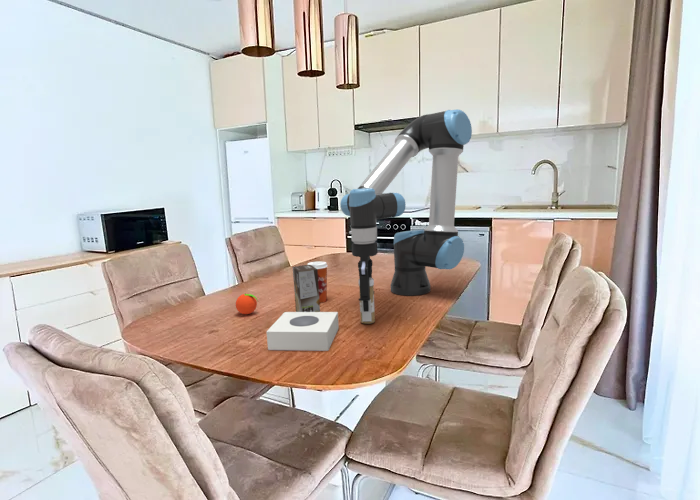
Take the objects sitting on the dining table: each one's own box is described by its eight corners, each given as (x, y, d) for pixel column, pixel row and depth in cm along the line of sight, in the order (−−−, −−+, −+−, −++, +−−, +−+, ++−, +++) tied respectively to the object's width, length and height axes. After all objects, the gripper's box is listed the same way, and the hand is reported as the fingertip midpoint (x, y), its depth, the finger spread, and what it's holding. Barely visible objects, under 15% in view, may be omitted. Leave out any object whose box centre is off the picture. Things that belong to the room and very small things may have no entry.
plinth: (338, 328, 120) (337, 311, 119) (328, 350, 104) (327, 331, 103) (286, 328, 122) (284, 311, 121) (268, 349, 106) (266, 330, 106)
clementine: (264, 311, 139) (262, 291, 138) (254, 317, 133) (252, 296, 132) (243, 310, 142) (241, 290, 140) (232, 316, 135) (230, 296, 134)
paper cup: (324, 304, 144) (322, 265, 141) (305, 303, 146) (302, 265, 144) (332, 298, 151) (330, 261, 149) (313, 297, 154) (311, 260, 151)
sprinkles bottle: (360, 324, 121) (358, 280, 119) (360, 319, 126) (358, 277, 123) (376, 324, 121) (374, 280, 119) (375, 318, 126) (373, 276, 123)
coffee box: (321, 318, 129) (318, 269, 126) (301, 321, 127) (298, 271, 124) (313, 310, 137) (310, 264, 135) (295, 313, 135) (291, 266, 133)
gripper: (355, 237, 128) (358, 309, 132) (347, 247, 111) (351, 328, 115) (379, 237, 127) (382, 308, 131) (374, 246, 110) (378, 328, 114)
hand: (367, 317), depth 123 cm, fingers closed on sprinkles bottle, 4 cm apart
